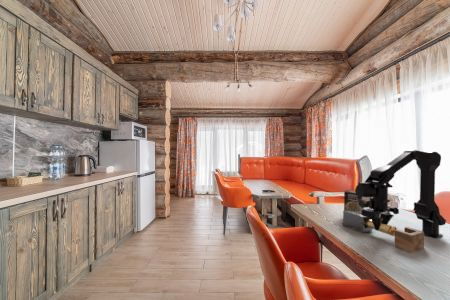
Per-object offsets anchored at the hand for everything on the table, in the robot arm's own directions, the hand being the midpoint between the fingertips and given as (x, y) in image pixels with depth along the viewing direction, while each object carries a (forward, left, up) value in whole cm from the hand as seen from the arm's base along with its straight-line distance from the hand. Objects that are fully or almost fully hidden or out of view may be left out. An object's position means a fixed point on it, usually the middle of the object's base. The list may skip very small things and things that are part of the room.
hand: (379, 229), depth 97 cm
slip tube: (0, -4, -1) cm, 4 cm away
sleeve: (0, -11, -3) cm, 11 cm away
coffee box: (-11, -21, -4) cm, 24 cm away
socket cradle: (0, +11, -3) cm, 12 cm away
